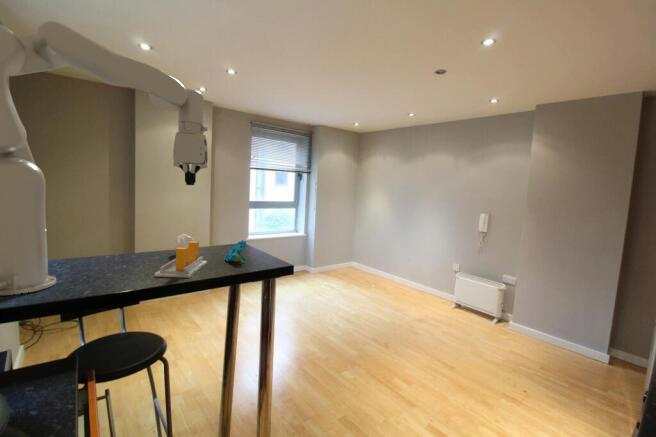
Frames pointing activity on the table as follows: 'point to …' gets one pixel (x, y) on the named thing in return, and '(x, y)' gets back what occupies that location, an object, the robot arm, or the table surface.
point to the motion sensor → (183, 241)
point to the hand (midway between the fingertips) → (190, 184)
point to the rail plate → (188, 271)
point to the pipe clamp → (186, 255)
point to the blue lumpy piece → (236, 252)
